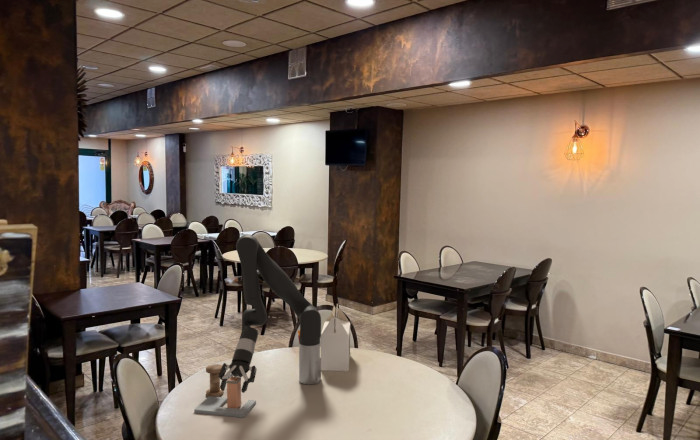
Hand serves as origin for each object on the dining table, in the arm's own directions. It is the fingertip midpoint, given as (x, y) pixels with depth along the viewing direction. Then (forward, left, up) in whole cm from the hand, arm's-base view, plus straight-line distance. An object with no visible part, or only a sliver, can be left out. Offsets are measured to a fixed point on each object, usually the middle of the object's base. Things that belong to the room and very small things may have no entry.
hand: (232, 391), depth 182 cm
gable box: (-29, -55, -7) cm, 63 cm away
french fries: (-10, -67, -7) cm, 68 cm away
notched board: (+3, +1, -7) cm, 7 cm away
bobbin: (+13, -10, -7) cm, 18 cm away
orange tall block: (0, -1, -7) cm, 7 cm away
